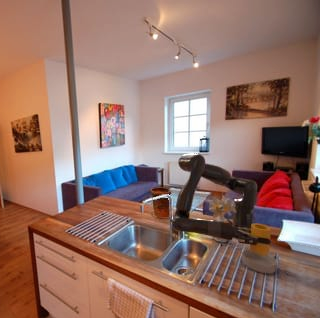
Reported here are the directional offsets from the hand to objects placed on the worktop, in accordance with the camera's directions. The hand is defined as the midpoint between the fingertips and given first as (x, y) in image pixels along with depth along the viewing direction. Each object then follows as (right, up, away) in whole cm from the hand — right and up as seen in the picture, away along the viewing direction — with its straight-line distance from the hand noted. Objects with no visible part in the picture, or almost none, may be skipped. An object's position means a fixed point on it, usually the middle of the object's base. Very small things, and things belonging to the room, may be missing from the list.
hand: (267, 237), depth 84 cm
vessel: (-17, -10, +68) cm, 71 cm away
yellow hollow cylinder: (-2, -6, +2) cm, 7 cm away
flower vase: (+2, -14, +31) cm, 34 cm away
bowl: (+4, -16, +9) cm, 19 cm away
